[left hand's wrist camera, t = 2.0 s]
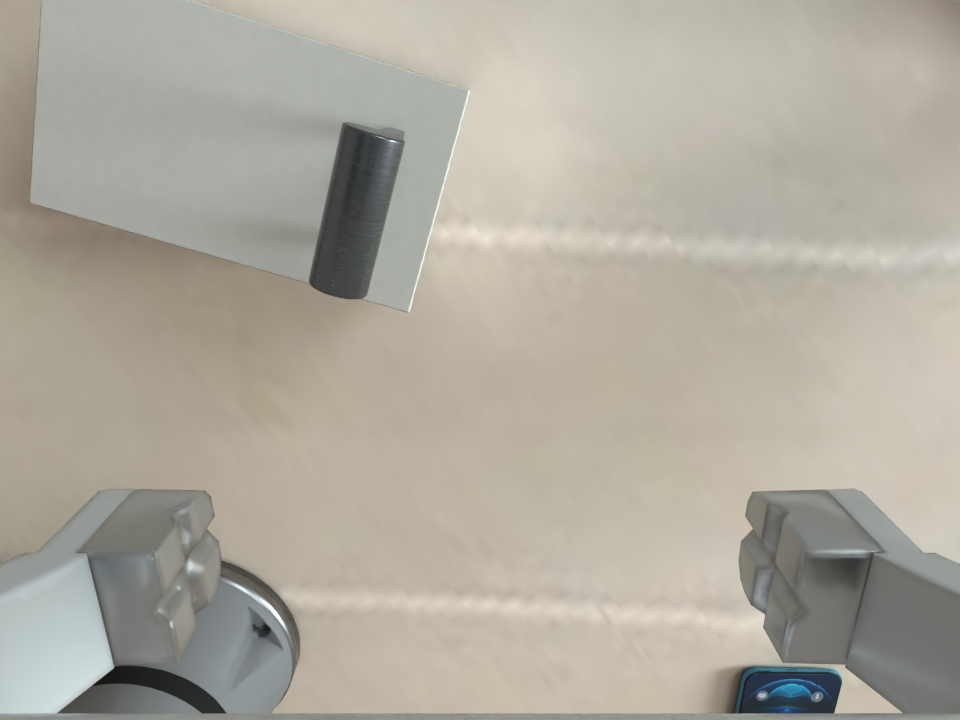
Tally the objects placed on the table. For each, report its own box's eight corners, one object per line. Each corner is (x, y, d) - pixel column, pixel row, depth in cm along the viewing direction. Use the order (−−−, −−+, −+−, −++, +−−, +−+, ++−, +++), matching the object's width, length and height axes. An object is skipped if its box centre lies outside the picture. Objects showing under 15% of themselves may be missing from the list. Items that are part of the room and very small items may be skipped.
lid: (470, 90, 29) (463, 85, 21) (410, 307, 32) (385, 371, 25) (57, -43, 27) (-115, -103, 19) (41, 200, 31) (-110, 232, 23)
